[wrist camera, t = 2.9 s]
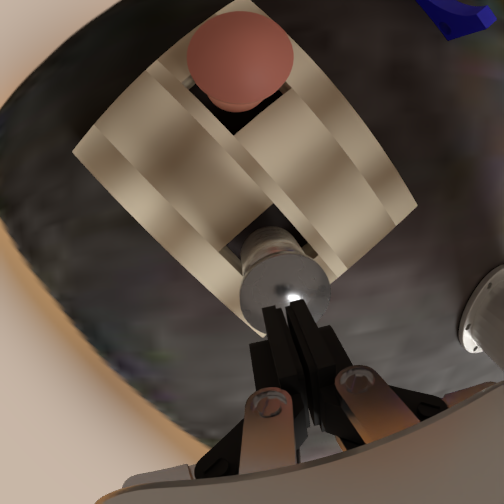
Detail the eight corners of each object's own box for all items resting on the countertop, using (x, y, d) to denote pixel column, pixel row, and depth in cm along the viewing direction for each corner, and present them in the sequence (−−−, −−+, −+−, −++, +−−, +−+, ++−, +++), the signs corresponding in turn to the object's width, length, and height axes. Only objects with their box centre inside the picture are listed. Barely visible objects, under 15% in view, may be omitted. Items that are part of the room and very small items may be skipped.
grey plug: (315, 255, 21) (346, 298, 15) (266, 296, 22) (279, 350, 16) (273, 207, 20) (293, 235, 14) (222, 253, 20) (220, 297, 15)
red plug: (288, 86, 17) (314, 61, 11) (233, 131, 18) (235, 123, 12) (239, 38, 16) (245, -5, 10) (185, 82, 16) (165, 54, 10)
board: (398, 198, 23) (417, 205, 20) (258, 317, 26) (262, 337, 23) (241, 11, 17) (243, -6, 15) (89, 150, 20) (72, 151, 17)
